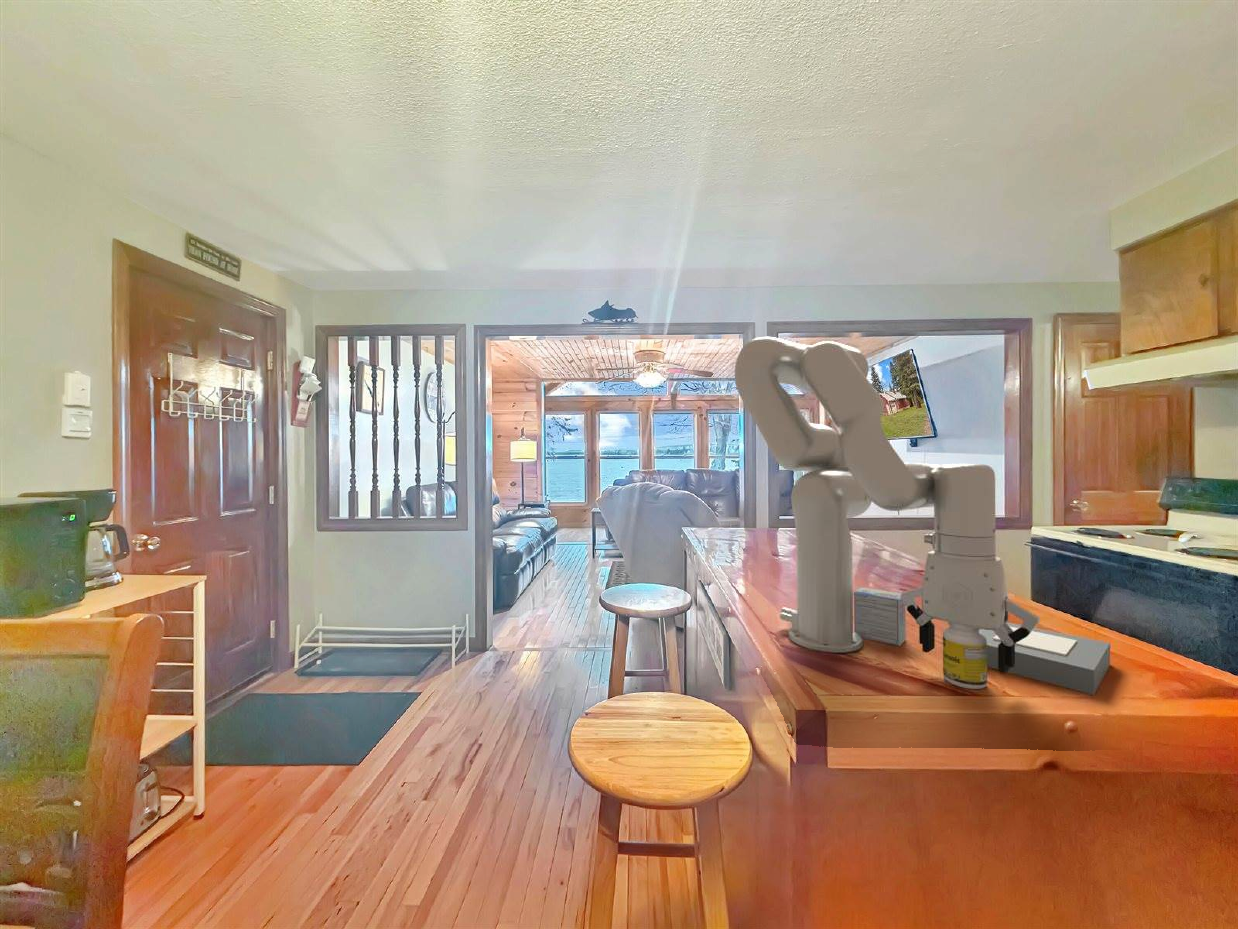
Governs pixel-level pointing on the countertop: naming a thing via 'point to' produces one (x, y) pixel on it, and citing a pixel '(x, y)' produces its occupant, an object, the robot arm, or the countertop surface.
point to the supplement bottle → (964, 656)
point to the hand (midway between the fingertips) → (964, 659)
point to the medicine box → (880, 616)
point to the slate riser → (1055, 658)
